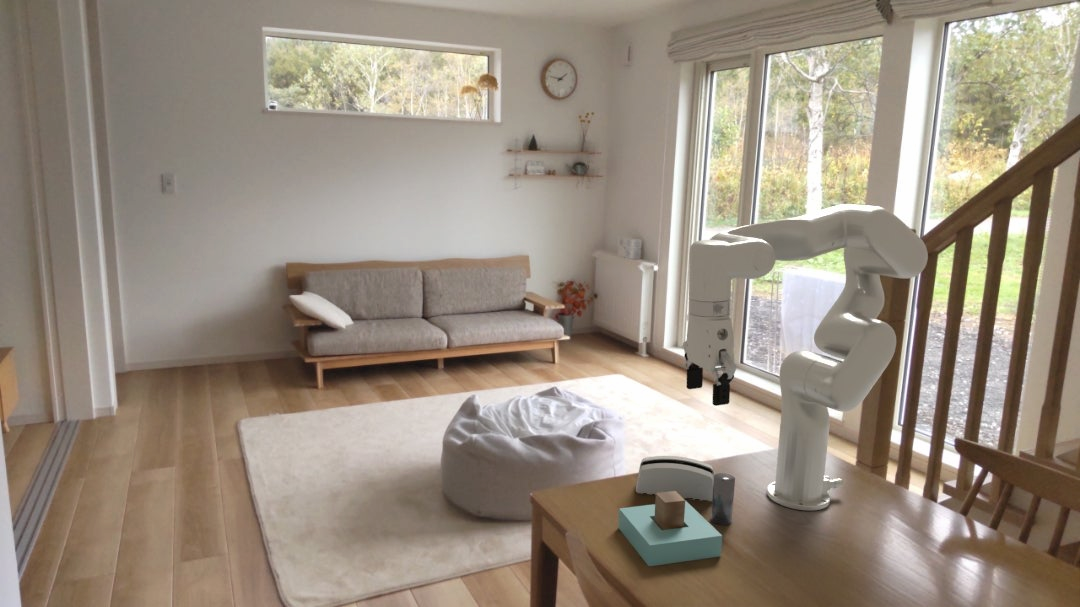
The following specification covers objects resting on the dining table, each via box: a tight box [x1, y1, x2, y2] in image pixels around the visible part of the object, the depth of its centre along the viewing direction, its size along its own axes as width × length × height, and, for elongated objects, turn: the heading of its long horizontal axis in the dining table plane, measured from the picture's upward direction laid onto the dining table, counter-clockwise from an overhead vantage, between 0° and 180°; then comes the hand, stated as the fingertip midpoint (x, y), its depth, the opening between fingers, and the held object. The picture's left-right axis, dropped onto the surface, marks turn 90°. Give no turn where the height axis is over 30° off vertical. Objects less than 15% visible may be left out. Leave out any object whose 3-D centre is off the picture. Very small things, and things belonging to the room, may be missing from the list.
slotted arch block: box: [635, 455, 715, 502], centre depth 152 cm, size 17×5×10 cm, turn 77°
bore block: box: [617, 500, 723, 567], centre depth 133 cm, size 14×14×4 cm
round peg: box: [710, 472, 736, 526], centre depth 142 cm, size 4×4×9 cm
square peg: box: [654, 491, 686, 530], centre depth 133 cm, size 4×4×9 cm
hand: (707, 396), depth 137 cm, fingers open, 9 cm apart
